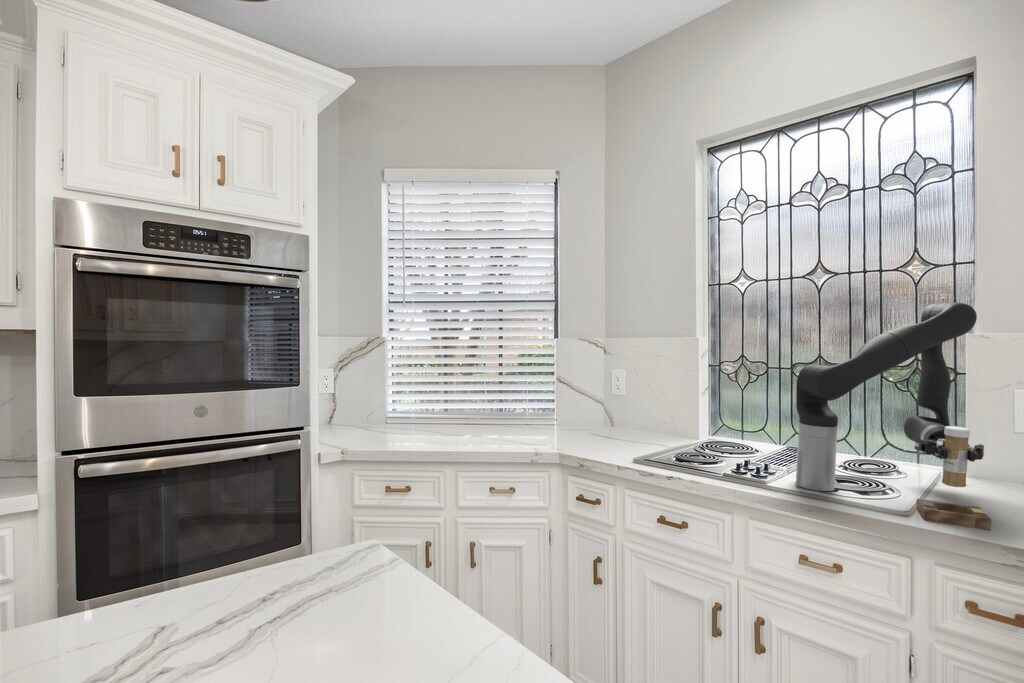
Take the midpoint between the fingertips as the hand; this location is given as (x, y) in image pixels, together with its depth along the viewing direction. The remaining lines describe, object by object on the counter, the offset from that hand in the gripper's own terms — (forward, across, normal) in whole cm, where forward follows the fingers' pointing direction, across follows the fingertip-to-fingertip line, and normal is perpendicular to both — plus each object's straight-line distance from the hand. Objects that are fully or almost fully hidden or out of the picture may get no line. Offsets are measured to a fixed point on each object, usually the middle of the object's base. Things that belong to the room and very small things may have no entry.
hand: (959, 455), depth 126 cm
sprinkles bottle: (-3, 0, +8) cm, 8 cm away
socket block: (-2, 0, +15) cm, 16 cm away
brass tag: (-2, +4, +13) cm, 14 cm away
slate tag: (-2, -5, +13) cm, 14 cm away
